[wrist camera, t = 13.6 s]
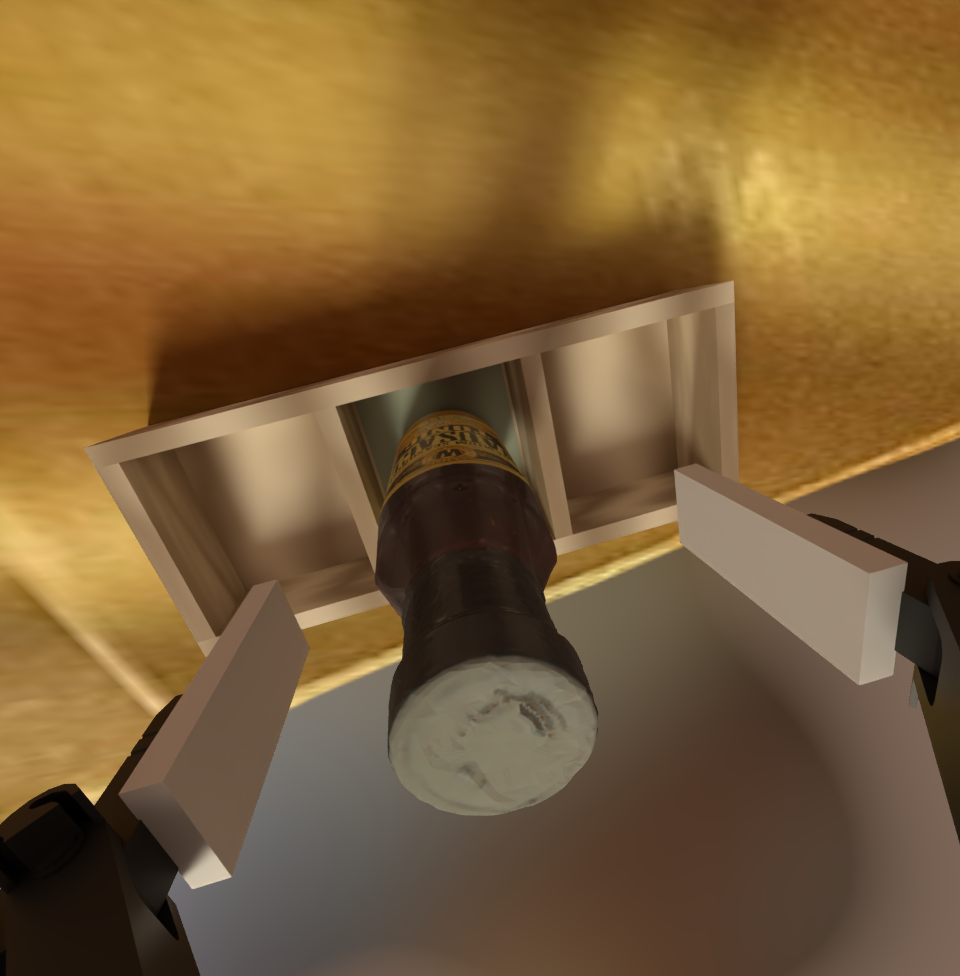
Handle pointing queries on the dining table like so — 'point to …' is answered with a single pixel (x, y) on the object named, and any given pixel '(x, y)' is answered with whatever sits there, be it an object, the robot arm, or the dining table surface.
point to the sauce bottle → (476, 627)
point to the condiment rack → (380, 427)
